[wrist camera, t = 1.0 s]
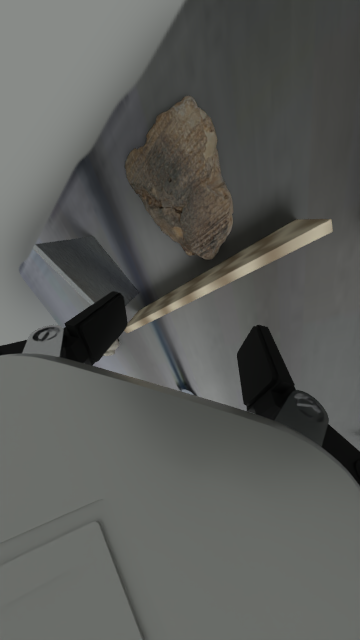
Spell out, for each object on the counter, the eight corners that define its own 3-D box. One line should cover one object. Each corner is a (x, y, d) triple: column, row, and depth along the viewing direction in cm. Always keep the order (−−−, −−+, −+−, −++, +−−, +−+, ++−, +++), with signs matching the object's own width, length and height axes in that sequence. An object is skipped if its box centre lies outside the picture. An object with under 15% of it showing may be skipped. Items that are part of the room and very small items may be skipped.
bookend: (93, 236, 32) (35, 244, 22) (139, 292, 38) (111, 319, 28) (78, 254, 35) (22, 268, 25) (123, 303, 41) (93, 330, 31)
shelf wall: (295, 219, 23) (331, 218, 16) (297, 228, 24) (332, 231, 17) (138, 310, 42) (122, 329, 35) (141, 314, 43) (127, 333, 35)
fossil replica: (127, 341, 52) (107, 322, 50) (114, 357, 45) (89, 336, 42) (111, 354, 58) (92, 337, 55) (97, 369, 50) (74, 351, 48)
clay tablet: (247, 234, 26) (196, 81, 18) (252, 237, 22) (190, 46, 14) (186, 271, 33) (127, 172, 25) (181, 278, 29) (111, 165, 21)
